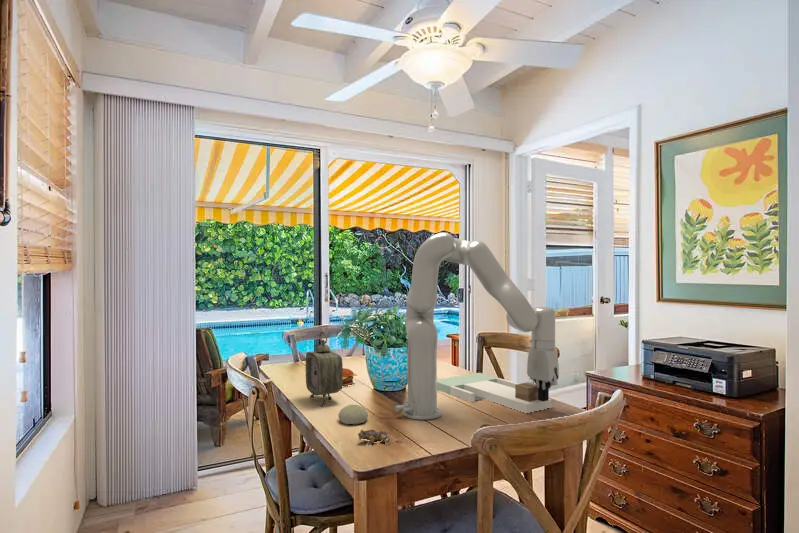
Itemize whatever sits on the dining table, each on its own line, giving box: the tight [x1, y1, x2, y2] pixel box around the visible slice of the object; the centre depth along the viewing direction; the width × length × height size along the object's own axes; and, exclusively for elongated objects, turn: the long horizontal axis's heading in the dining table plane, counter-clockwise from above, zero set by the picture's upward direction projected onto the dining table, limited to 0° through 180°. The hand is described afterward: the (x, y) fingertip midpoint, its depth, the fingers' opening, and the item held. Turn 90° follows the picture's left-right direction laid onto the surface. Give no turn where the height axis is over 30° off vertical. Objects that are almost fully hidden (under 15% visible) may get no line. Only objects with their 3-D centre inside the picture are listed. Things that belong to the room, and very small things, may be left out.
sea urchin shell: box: [337, 404, 369, 425], centre depth 153 cm, size 9×8×8 cm
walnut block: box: [515, 381, 538, 402], centre depth 168 cm, size 6×6×4 cm
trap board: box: [437, 372, 553, 414], centre depth 182 cm, size 25×44×3 cm, turn 32°
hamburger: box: [342, 367, 358, 386], centre depth 200 cm, size 9×10×7 cm
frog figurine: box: [357, 428, 390, 447], centre depth 137 cm, size 12×12×4 cm
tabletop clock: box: [305, 331, 344, 407], centre depth 175 cm, size 14×9×25 cm, turn 29°
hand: (543, 400), depth 162 cm, fingers closed
